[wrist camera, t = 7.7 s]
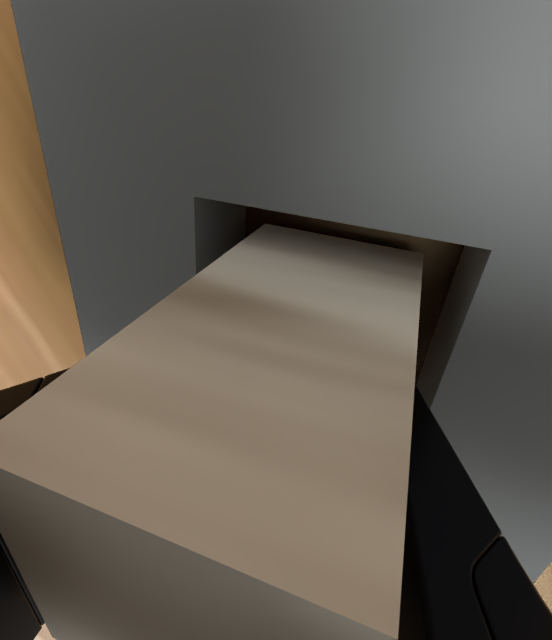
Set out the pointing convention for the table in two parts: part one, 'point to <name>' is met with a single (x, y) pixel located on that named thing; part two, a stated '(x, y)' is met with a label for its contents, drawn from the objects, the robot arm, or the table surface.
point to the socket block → (322, 178)
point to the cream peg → (228, 455)
